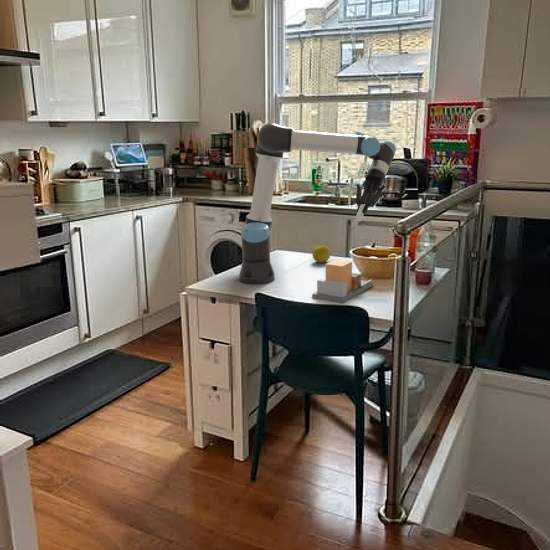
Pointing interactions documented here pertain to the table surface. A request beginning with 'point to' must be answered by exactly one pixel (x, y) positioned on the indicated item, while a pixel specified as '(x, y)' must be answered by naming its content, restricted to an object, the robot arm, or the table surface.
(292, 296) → the table surface
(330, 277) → the block
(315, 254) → the lemon
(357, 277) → the block
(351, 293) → the vise
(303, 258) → the table surface
